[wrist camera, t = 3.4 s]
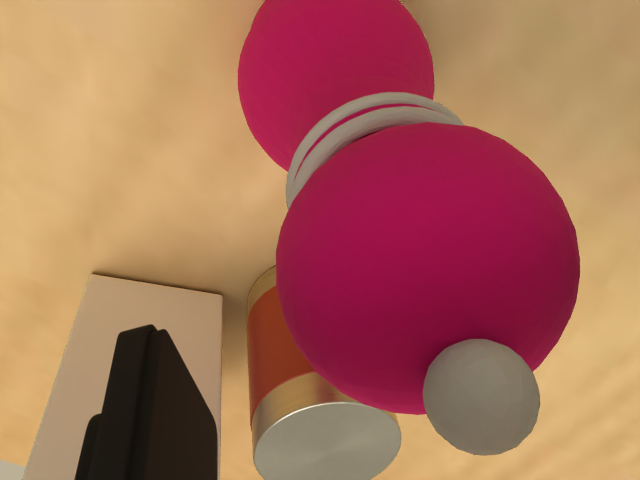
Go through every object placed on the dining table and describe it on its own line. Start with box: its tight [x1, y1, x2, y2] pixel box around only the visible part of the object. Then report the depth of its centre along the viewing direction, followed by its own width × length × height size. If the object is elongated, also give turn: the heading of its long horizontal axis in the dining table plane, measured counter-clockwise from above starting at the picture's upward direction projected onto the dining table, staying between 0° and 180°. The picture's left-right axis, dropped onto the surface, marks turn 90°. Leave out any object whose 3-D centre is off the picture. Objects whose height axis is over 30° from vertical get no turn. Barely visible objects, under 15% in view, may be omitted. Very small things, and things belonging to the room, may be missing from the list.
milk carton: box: [22, 274, 223, 480], centre depth 24 cm, size 7×7×19 cm
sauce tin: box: [247, 266, 401, 480], centre depth 28 cm, size 7×7×10 cm
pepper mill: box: [238, 0, 580, 456], centre depth 16 cm, size 7×7×20 cm
